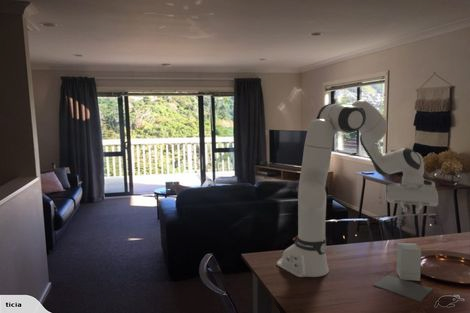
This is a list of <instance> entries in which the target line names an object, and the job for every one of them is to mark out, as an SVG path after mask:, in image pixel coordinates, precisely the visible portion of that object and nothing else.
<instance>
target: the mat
mask: <svg viewBox="0 0 470 313" xmlns="http://www.w3.org/2000/svg"><path fill="white" fill-rule="evenodd" d="M373 286H374V287H377V288H379V289H382V290H385V291H388V292H391V293H394V294H397V295H400V296H402V297H405V298H408V299H411V300H414V301H417V302H419V303H421V302H422V301H423V300H424V299H426V298H427V296H428V295H429V294H430V293H431V292H432V291H433V290H434V289H433V288H431V287H428V286H425V285H421V284H419V283H415V282H412V281H410V280H403V279H400V277H397V276H393V275H390V274H387V275H385V276H384V277H382V278H381V279H379V280H378V281H377V282H375V283H374V284H373Z"/></svg>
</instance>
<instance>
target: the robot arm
mask: <svg viewBox="0 0 470 313" xmlns="http://www.w3.org/2000/svg"><path fill="white" fill-rule="evenodd" d="M357 131H359V133H360V135H359V141H360V144H361V146H362V148H363V150H364V151H365V153H366V154H367V156H368V158H369V160H370V161H371V163H372V165H373V167H374V170H375V171H376V173H378V174H379V175H381V176H383V177H387V176H390V175H392V174H396V173H401V172H402V174H403V175H402V177H401V183H389V184H387V186H386V201H387V203H393V204H400V206H401V208H402V212H403V213H407V210H408V208H407V206H405V205H414V206H415V205H416V206H418V207H415V213H416V214H420V211H421V210H422V208H423V206H427V207H428V206H429V207H437V206H438V205H439V194H438V190H437V189H436V183H435V182H434V181H432V180H428V179H425V178H424V175H425V174H424V173H425V162H424V157H423V156H422V154H420V153H419V152H416V151H414V150H413V149H411V148H409V147H404V148H401V149H396V150H394V151H390V152H387V153H383V152H382V153H381V152H380V150H379V148H378V147H377V145H376V144H377V143H378V142H379V141H381V140H382V139H383V138H384V137H385V136H386V133H387V132H388V121H387V120H386V119H385V117H384V116H383V114H381V112H380V111H379V110H378V109H377V108H376V107H375V106H373V105H372V103H370V102H368V101H367V100H365V99H360V100H356V101H354V102H353V103H351V105H348V104H344V103H328V104H324V105H323V106H322V107H321V108H320V109H319V111H318V114H317V116H316V118H315V119H313V120H312V121H311V122H310V123H309V126H308V129H307V132H306V135H305V140H304V147H303V154H302V161H301V167H300V168H301V169H300V173H299V174H300V175H299V180H298V187H297V188H298V189H297V205H298V206H297V210H298V211H297V216H298V217H297V218H298V219H297V228H298V229H297V230H298V231H297V233H298V234H297V235H296V236H295V237H293V238H292V241H294V243H293V244H292V245H290V246H289V247H287V248H285V250H284V251H283V253H282V257H281V258H280V259H278V261H276V266H278V267H280V268H281V269H283V270H285V271H287V272H288V273H291V274H292V275H294V276H296V277H297V278H298V277H299V278H303V277H305V278H306V277H308V278H309V277H310V278H318V277H323V276H325V275H326V276H327V275H328V274H329V272H330V269H329V266H328V261H327V255H326V251H327V237H326V216H327V191H326V185H327V184H326V183H327V179H328V174H329V170H330V166H331V165H330V164H331V158H332V151H333V145H334V144H333V143H334V137H335V135H336V133H337V132H341V133H355V132H357Z"/></svg>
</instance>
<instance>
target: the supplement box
mask: <svg viewBox="0 0 470 313" xmlns="http://www.w3.org/2000/svg"><path fill="white" fill-rule="evenodd" d="M396 244H397V245H396V246H397V247H396V274H397V275H398V278H400V279H403V280H406V281H417V282H420V281H421V271H422V270H421V269H422V268H421V267H422V249H421V248H420V247H419V245H418V244H417V243H412V242H411V243H409V242H408V243H407V242H406V243H405V242H397V243H396Z"/></svg>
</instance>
